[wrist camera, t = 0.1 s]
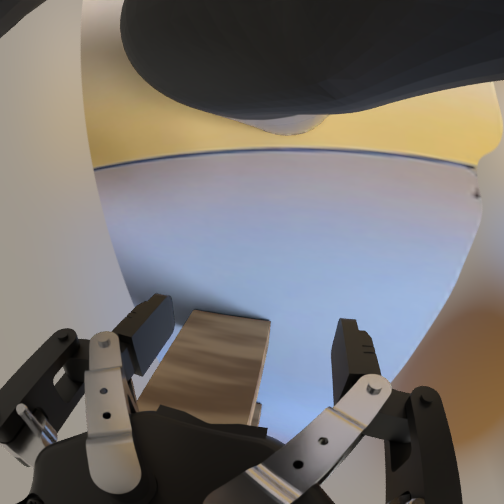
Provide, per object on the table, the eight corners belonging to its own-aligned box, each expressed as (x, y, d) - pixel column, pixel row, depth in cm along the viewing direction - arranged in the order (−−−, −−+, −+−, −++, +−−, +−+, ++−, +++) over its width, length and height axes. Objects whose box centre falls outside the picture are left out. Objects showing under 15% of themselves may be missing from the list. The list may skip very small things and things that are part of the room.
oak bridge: (193, 309, 34) (59, 537, 5) (270, 321, 33) (194, 600, 4) (205, 405, 43) (144, 556, 14) (260, 416, 41) (217, 578, 12)
